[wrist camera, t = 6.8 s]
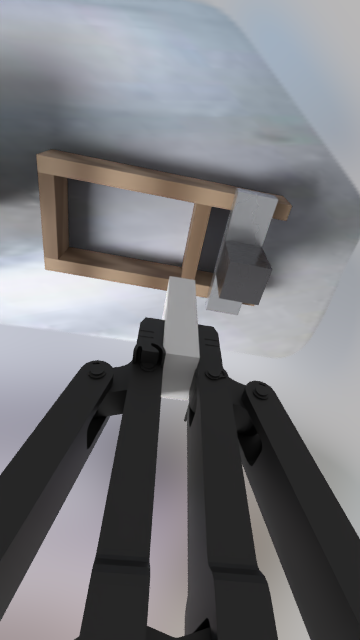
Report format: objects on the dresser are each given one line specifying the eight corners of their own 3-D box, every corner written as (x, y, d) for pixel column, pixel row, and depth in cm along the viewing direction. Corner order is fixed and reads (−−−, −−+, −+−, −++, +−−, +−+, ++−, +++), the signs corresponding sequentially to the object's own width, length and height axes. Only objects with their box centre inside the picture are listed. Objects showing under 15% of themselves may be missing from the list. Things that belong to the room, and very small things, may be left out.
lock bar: (205, 302, 29) (207, 336, 25) (236, 187, 23) (246, 206, 19) (236, 308, 30) (243, 342, 25) (274, 195, 24) (292, 216, 19)
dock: (56, 256, 31) (45, 269, 28) (51, 149, 25) (36, 154, 23) (249, 290, 32) (254, 306, 30) (282, 196, 27) (292, 205, 24)
